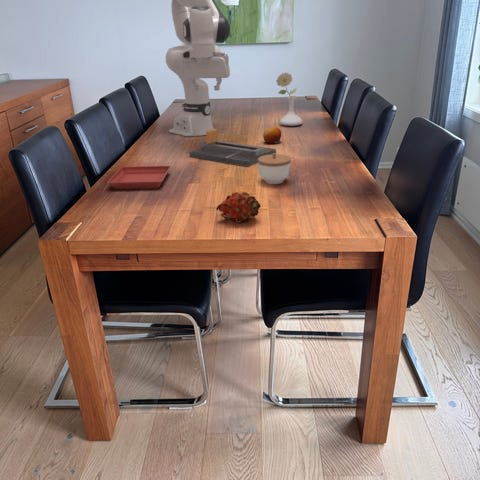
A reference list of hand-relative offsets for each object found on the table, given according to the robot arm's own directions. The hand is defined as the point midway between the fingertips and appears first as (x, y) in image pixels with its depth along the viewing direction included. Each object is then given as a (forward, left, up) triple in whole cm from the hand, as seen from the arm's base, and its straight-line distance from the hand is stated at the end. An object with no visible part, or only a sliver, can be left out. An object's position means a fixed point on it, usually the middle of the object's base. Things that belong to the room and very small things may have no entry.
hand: (206, 90), depth 186 cm
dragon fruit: (+53, -55, -24) cm, 80 cm away
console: (+13, -3, -24) cm, 28 cm away
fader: (+4, -3, -22) cm, 22 cm away
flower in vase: (+5, +56, -24) cm, 62 cm away
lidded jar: (+45, -22, -24) cm, 55 cm away
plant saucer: (+5, -44, -25) cm, 51 cm away
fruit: (+17, +22, -24) cm, 37 cm away
